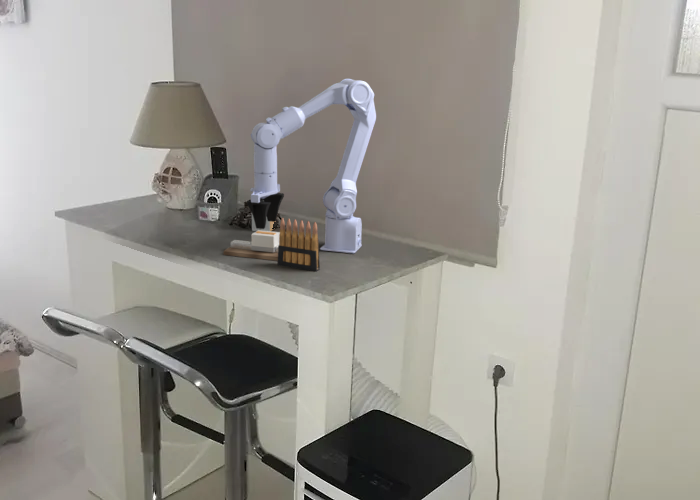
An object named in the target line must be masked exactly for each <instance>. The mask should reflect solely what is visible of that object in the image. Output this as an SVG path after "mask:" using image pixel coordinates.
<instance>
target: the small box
mask: <svg viewBox="0 0 700 500" xmlns="http://www.w3.org/2000/svg"><path fill="white" fill-rule="evenodd" d="M263 201H264V200H263ZM273 224H274V222H272V221H268V220H267V217H266V226H265V228H264V229H259V228H256V225H255V221H254V218H253V214H252V213H251V231H252V232H256V231H258V230H263V231H273V230H274V229H272V228H273Z"/></svg>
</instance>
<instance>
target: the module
mask: <svg viewBox="0 0 700 500" xmlns="http://www.w3.org/2000/svg"><path fill="white" fill-rule="evenodd" d="M279 234H280V231H273V230H272V231H263V230H258V231H253V232H252V234H251V236H250V237H251V242H252V250H255V251H264V252H273V253H274V252H275V247H276V246H277V245H278V244H279Z"/></svg>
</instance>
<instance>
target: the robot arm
mask: <svg viewBox="0 0 700 500" xmlns="http://www.w3.org/2000/svg"><path fill="white" fill-rule="evenodd" d="M374 97H375V93H374V91H373V89H372V88H371V86H370V84H369V83H368V82H366V81H363V80H359V79H358V80H357V79H356V80H355V79H352V78H344V79H342V80H341V81H340V82H337V83H333V84H332V85H330V86H328V87H327V88H326V89H325V90H323V91H322V92H320V93H318V94H317V95H315V96H314V97H312V98H311V99H310V100H308V101H306V102H304V103H303V104H302V105H300V106H298V107H296V106H293V105H291V106H289V107H288V106H284V107H282V108H281V110H282V111H280V112H278V113H277V114H275V115H274V116H272V117H269V116H268V117H267V118H266V119H265V122H259V123H257V124H255V125H254V127H253V129H252V130H251V133H250V138H251V141H252V142H253V151H254V152H253V175H254V176H253V177H254V178H253V180H254V182H253V183H254V185H253V187H251V188H250V189H249V192H252V193H251V194H250V199H249V200H247V201H246V204H247V205H246V206H248V208H249V209H250V210H249V211H250V212H251V215H252V214H253V218H254V221H255V225H256V228H259V229H264V228H265V226H266V217H267V220H268V221H272V222H276V219H277V215H279V210H280V205H281V203H282V201H283V199H284V197H285V194H284V193H282V192H281V184H280V183H278V154H277V150H278V149H277V146H278V145H279V143H280V141H281V140H283V139H285V138H286V137H287V136H290V135H291V134H292V133H294V132H296V131H297V130H299V129H301V128H302V127H304V124H305V122H306V119H308V118H310V117H312V116H313V115H315V114H317V113H319V112H321V111H323V110H325V109H326V108H329V107H330V106H332V105H344V106H345V107H346V108H348V110H349V112H350V114H351V115H352V117H353V123H352V126H351V129H350V133H349V136H348V138H347V143H346V146H345V147H344V152H343V155H342V159H341V161H340V164H339V168H338V171H337V175H336V177H335V178H334V179H333V180H331V183H330V185H329V188H328V189H327V190H326V191H325V192H324V194H323V196H322V203H323V205H324V207H325V208H326V212H325V221H324V222H325V224H324V225H325V229H324V230H325V233H324V234H325V235H324V237H325V239H324V242H325V243H324V244H323V245H322V246H321V247H320V248H319V251H329V252H337V253H347V254H355V253H357V251H358V250H359V249H360V248H361V247H362V231H363V230H362V229H363V228H362V227H363V225H362V218H361V217H356V216H354V213H355V211H356V210H357V194H358V190H357V180H358V177H359V174H360V170H361V167H362V164H363V161H364V158H365V155H366V152H367V149H368V145H369V142H370V139H371V137H372V132H373V129H374V126H375V123H376V121H377V111H376V107H375V101H374ZM263 200H264V201H263Z"/></svg>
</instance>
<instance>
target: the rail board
mask: <svg viewBox="0 0 700 500" xmlns="http://www.w3.org/2000/svg"><path fill="white" fill-rule="evenodd" d="M222 252H223V253H222V254H223V256H233V257H240V258H251V259H259V260H268V261H276V262H278V253H273V252H264V251H255V250H246V249H236V248H231V246H229V247H227V248H225V249H224V250H223V251H222Z"/></svg>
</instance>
